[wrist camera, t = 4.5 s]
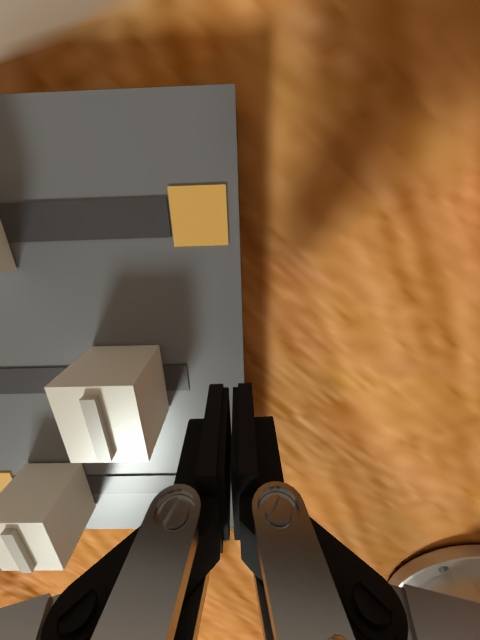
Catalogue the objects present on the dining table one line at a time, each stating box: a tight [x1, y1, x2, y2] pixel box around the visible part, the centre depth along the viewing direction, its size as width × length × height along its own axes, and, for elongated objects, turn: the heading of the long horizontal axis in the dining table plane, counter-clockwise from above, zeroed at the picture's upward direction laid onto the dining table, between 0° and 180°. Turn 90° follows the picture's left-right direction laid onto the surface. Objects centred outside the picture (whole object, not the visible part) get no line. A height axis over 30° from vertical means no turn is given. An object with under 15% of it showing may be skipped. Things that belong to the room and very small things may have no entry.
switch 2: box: [44, 345, 169, 463], centre depth 13 cm, size 4×4×4 cm
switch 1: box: [0, 463, 96, 573], centre depth 16 cm, size 4×4×4 cm
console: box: [0, 84, 245, 529], centre depth 16 cm, size 18×25×3 cm
